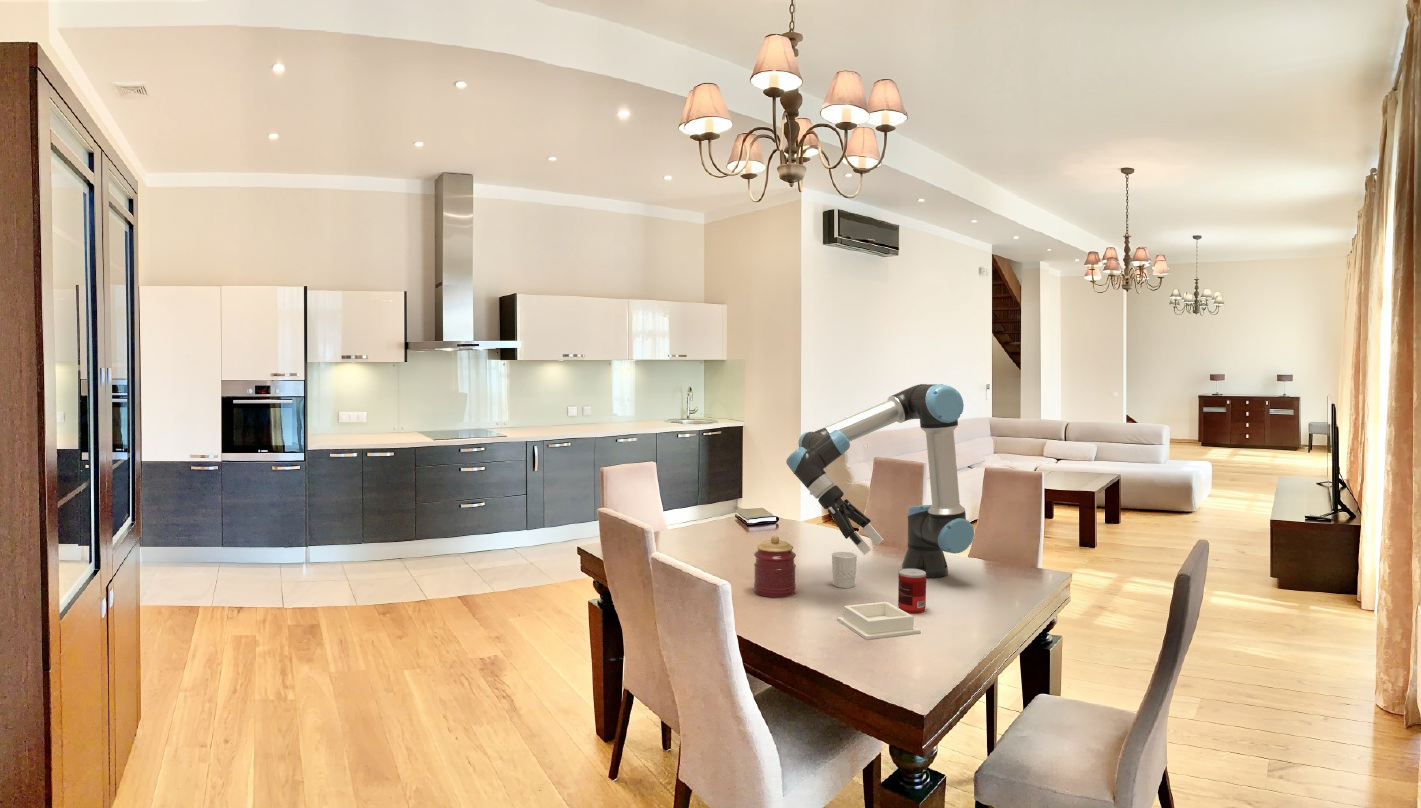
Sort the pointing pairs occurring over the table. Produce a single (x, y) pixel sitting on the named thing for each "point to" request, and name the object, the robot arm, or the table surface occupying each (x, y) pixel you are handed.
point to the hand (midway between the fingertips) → (874, 547)
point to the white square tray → (878, 620)
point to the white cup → (844, 569)
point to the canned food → (912, 590)
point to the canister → (774, 568)
